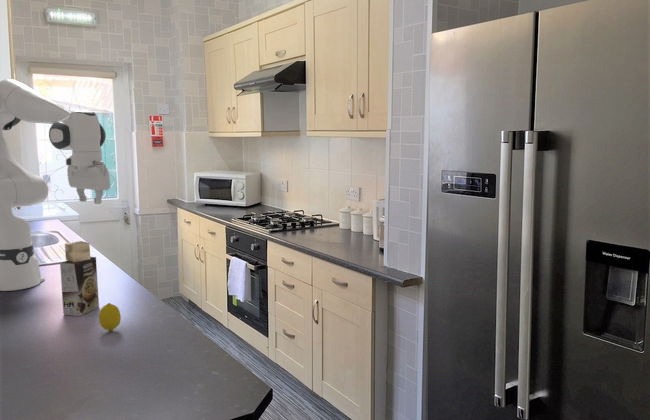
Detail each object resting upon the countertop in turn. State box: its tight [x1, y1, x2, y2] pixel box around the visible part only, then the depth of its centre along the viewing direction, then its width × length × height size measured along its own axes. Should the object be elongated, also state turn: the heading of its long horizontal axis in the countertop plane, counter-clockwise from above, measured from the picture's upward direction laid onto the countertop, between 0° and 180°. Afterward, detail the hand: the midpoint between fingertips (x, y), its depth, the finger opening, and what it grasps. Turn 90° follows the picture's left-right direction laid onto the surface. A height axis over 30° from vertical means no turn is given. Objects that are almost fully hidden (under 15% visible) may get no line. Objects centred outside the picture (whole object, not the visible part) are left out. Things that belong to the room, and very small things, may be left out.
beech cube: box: [64, 240, 91, 262], centre depth 165 cm, size 5×5×5 cm
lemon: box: [98, 302, 122, 332], centre depth 150 cm, size 6×6×8 cm
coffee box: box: [59, 256, 100, 317], centre depth 167 cm, size 9×6×16 cm
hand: (90, 202), depth 181 cm, fingers open, 8 cm apart
